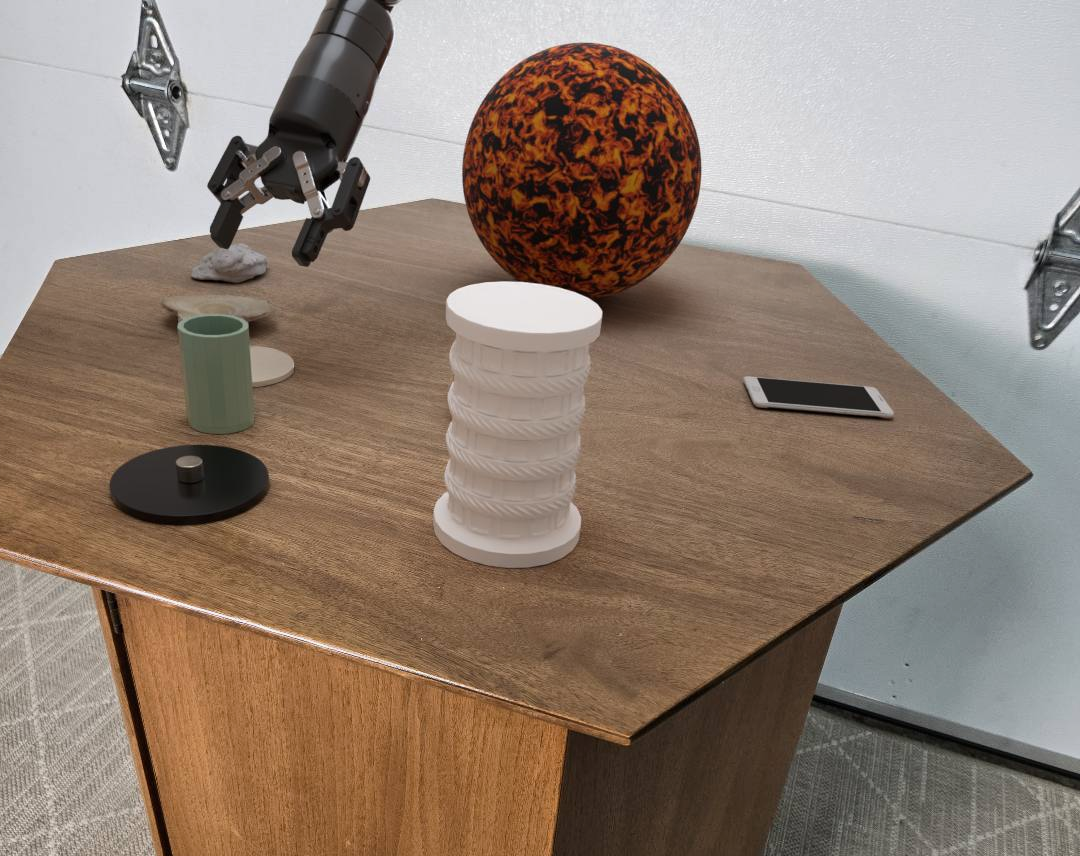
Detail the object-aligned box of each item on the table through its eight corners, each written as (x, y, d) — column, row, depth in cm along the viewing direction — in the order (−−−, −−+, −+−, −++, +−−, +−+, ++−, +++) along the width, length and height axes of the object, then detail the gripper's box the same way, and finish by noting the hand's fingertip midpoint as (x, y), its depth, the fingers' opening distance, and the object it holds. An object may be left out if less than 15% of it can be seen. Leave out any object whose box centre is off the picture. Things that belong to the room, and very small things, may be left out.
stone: (264, 242, 130) (274, 244, 121) (266, 278, 131) (276, 283, 123) (185, 241, 126) (190, 243, 118) (188, 278, 128) (193, 283, 119)
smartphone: (742, 375, 108) (875, 386, 109) (741, 380, 109) (874, 391, 109) (754, 402, 102) (896, 414, 102) (753, 408, 102) (894, 420, 103)
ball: (528, 344, 113) (552, 55, 97) (419, 269, 134) (425, 22, 118) (726, 320, 127) (775, 64, 111) (600, 256, 148) (626, 33, 132)
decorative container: (429, 564, 72) (437, 328, 62) (435, 488, 82) (443, 274, 72) (586, 571, 73) (617, 340, 63) (573, 495, 83) (599, 285, 73)
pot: (173, 421, 88) (162, 324, 83) (223, 401, 92) (215, 309, 88) (220, 440, 86) (211, 342, 81) (268, 419, 90) (262, 325, 85)
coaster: (170, 368, 98) (169, 363, 98) (245, 343, 105) (244, 338, 105) (242, 396, 94) (241, 390, 93) (315, 368, 101) (314, 362, 101)
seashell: (239, 301, 117) (237, 277, 115) (294, 330, 110) (293, 305, 108) (145, 318, 109) (142, 293, 108) (199, 350, 102) (196, 324, 101)
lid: (77, 490, 76) (72, 464, 75) (198, 439, 85) (195, 415, 84) (184, 542, 71) (181, 515, 70) (300, 483, 80) (299, 458, 79)
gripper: (241, 62, 89) (169, 214, 86) (378, 83, 85) (309, 243, 82) (278, 118, 96) (213, 261, 93) (406, 140, 92) (344, 290, 89)
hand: (258, 252), depth 88 cm, fingers open, 8 cm apart
